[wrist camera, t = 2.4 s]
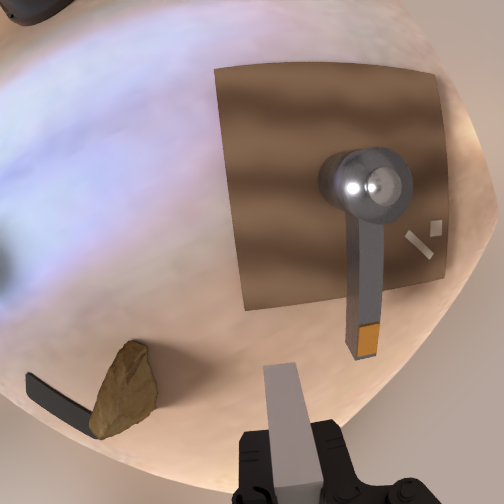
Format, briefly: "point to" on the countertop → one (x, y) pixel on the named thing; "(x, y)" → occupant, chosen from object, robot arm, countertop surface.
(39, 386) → the phone
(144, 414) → the rock
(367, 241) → the grey mallet
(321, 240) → the base board
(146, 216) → the countertop surface
